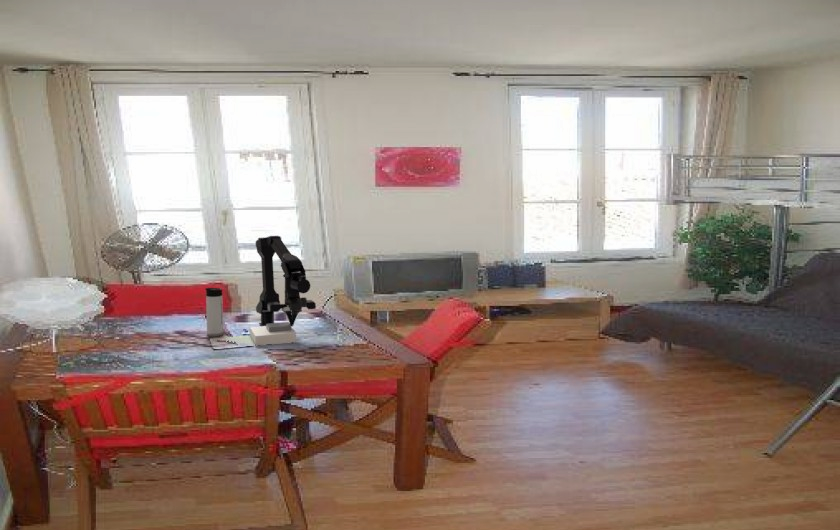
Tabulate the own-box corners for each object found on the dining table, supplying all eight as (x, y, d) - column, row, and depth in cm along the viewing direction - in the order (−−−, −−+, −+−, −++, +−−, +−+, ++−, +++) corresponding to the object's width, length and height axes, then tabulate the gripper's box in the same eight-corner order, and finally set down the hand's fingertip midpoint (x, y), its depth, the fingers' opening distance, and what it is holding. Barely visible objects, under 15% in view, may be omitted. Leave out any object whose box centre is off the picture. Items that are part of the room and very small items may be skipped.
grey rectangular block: (269, 332, 211) (268, 327, 211) (266, 328, 216) (266, 323, 216) (291, 330, 215) (291, 325, 215) (288, 326, 220) (288, 322, 220)
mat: (209, 339, 212) (209, 338, 211) (248, 336, 218) (248, 335, 218) (213, 350, 198) (213, 349, 198) (254, 346, 205) (254, 345, 205)
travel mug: (203, 334, 218) (202, 287, 216) (218, 331, 223) (217, 285, 220) (210, 337, 214) (209, 289, 211) (225, 334, 219) (225, 287, 216)
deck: (249, 336, 218) (249, 327, 217) (288, 333, 225) (288, 324, 225) (255, 346, 206) (255, 336, 205) (296, 342, 213) (296, 332, 212)
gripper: (272, 294, 205) (272, 333, 207) (319, 291, 213) (319, 329, 215) (267, 288, 214) (267, 326, 217) (312, 286, 223) (311, 322, 225)
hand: (291, 326), depth 218 cm, fingers closed
